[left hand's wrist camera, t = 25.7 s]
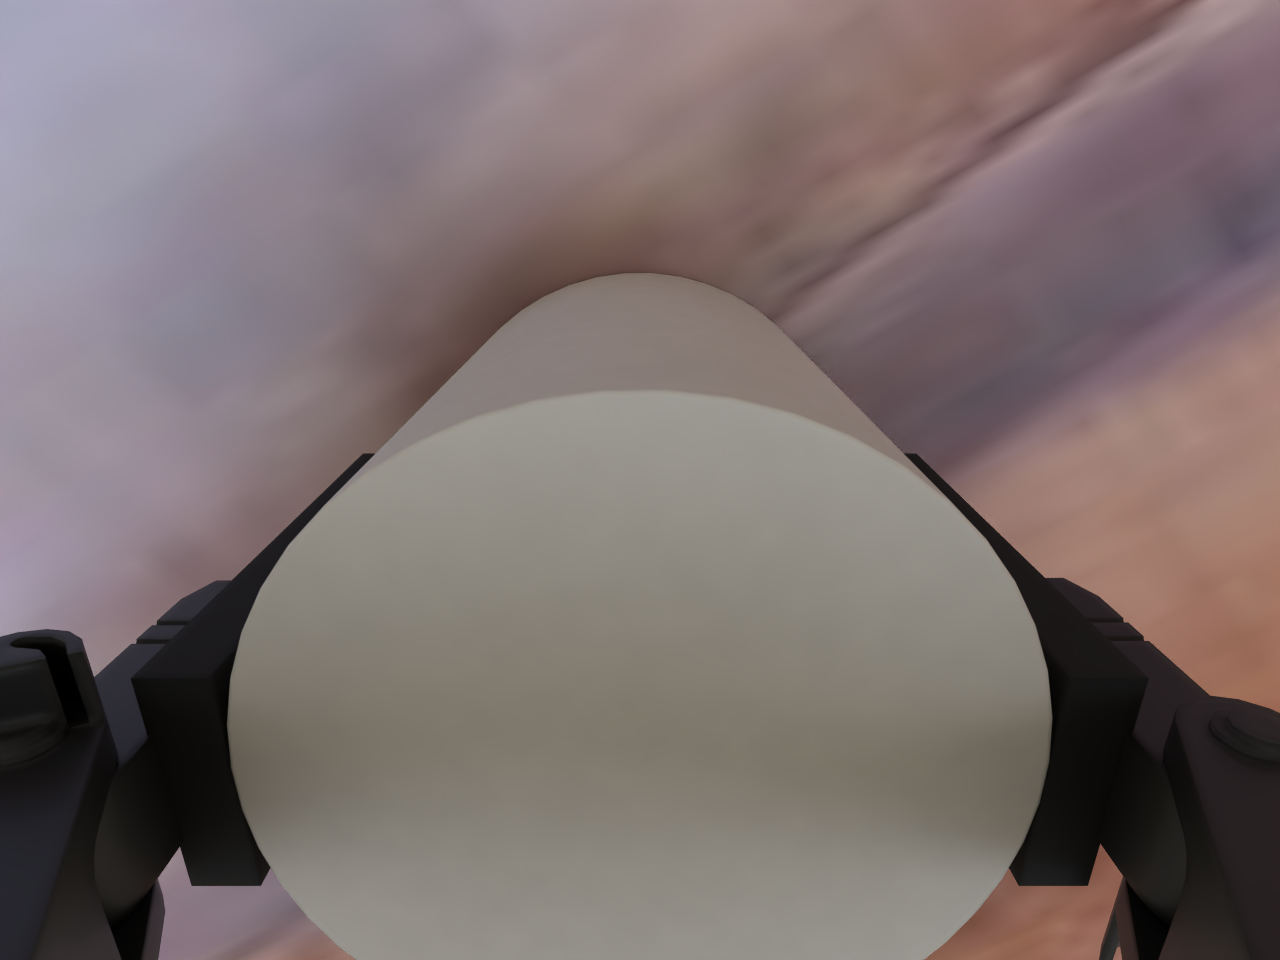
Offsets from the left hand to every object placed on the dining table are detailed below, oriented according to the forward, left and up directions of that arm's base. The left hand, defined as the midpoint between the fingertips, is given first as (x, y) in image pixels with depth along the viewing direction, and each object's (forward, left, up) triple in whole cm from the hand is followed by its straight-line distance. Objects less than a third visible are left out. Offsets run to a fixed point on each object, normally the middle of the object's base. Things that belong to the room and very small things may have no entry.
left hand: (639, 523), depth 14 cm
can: (0, 0, -3) cm, 3 cm away
